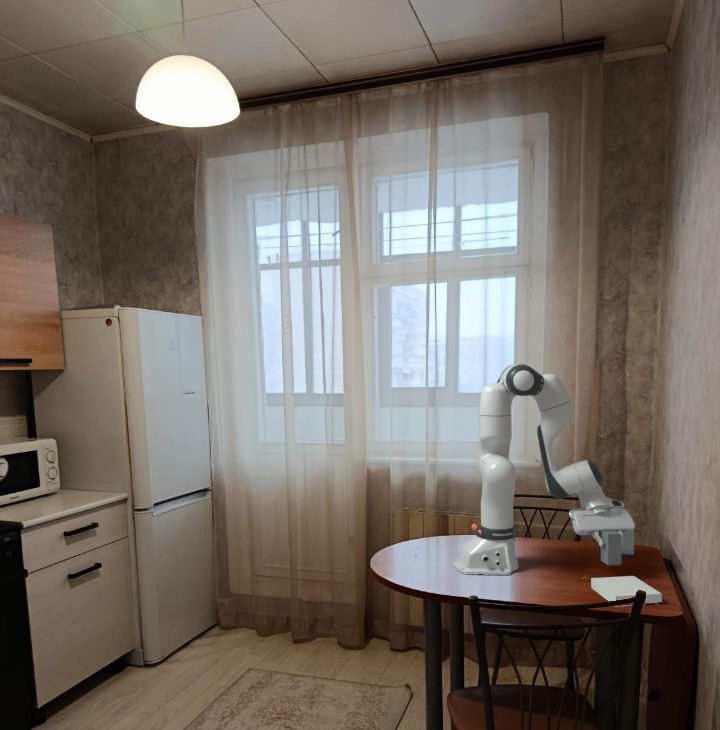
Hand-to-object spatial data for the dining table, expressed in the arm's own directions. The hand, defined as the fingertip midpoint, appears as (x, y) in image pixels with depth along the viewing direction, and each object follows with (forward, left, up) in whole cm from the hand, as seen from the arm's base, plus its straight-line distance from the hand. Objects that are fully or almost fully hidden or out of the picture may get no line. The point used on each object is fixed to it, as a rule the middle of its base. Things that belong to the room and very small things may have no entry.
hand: (611, 545), depth 181 cm
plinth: (-4, -13, -11) cm, 18 cm away
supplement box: (+17, +23, -11) cm, 31 cm away
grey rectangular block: (0, +1, -6) cm, 6 cm away
